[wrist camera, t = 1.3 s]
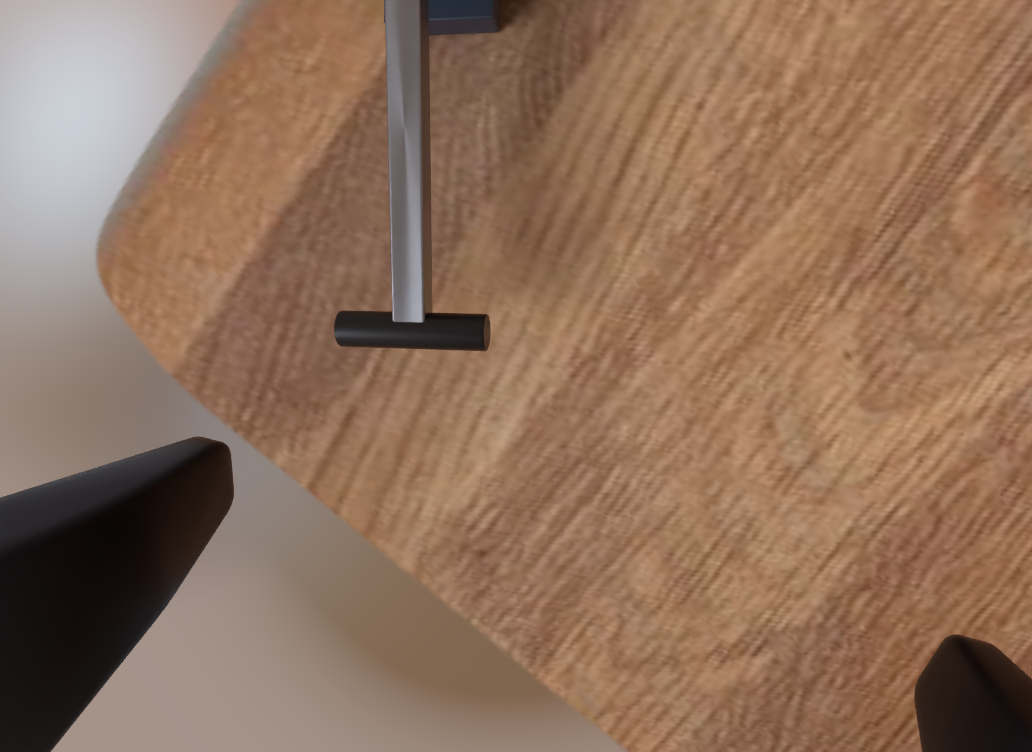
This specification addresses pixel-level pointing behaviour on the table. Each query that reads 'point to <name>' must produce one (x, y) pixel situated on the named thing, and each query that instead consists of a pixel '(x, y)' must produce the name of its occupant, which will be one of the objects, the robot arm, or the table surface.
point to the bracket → (462, 16)
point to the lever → (410, 206)
